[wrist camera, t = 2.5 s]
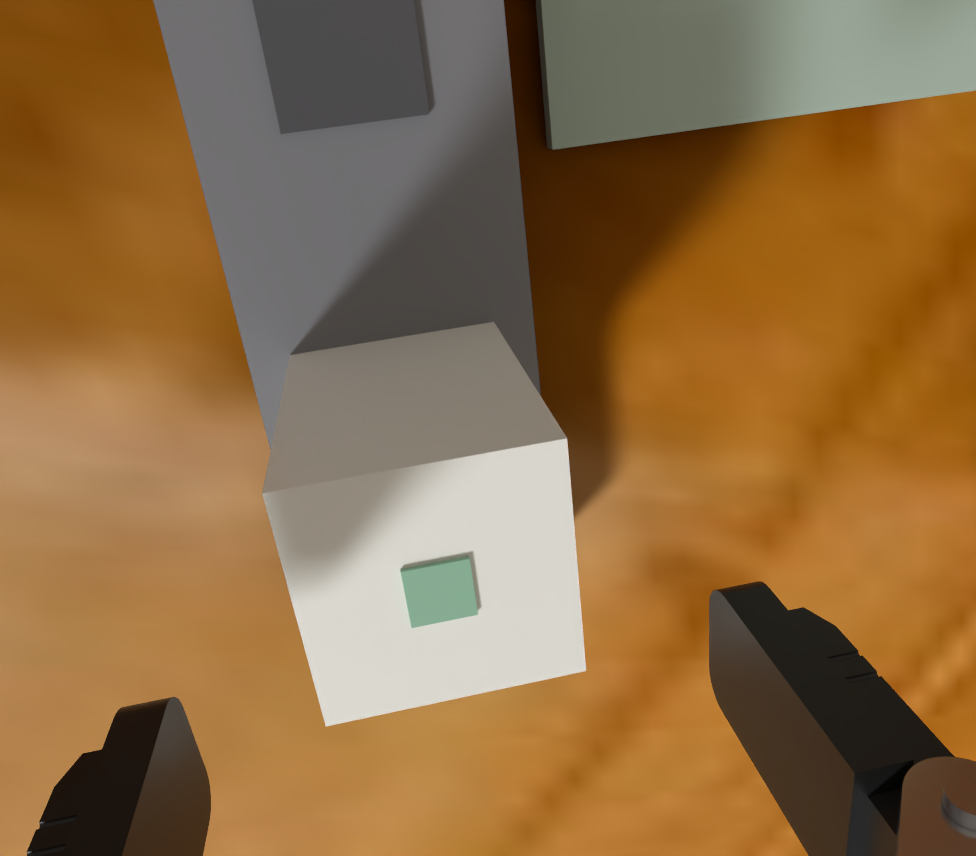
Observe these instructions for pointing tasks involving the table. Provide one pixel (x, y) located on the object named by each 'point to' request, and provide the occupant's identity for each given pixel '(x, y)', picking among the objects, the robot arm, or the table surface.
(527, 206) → the table surface
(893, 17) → the rubber mat
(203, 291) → the table surface
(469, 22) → the power strip
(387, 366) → the block
